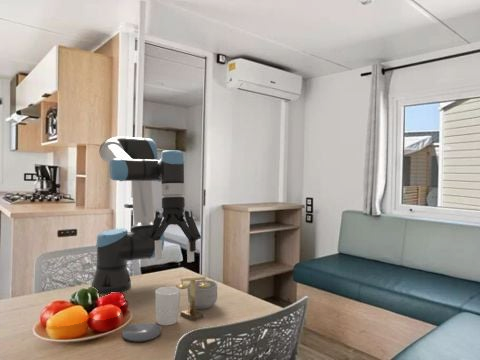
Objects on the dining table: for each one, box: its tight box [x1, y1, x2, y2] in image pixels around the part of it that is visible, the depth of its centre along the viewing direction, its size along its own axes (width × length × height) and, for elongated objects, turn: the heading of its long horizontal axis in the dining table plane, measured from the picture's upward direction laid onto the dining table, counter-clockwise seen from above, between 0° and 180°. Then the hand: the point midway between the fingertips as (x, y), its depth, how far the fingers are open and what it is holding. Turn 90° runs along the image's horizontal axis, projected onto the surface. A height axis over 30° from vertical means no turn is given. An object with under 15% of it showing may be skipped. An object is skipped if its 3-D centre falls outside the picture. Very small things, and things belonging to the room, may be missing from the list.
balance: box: [175, 275, 210, 322], centre depth 120 cm, size 15×4×14 cm, turn 50°
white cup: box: [154, 286, 181, 326], centre depth 116 cm, size 8×8×10 cm
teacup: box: [186, 278, 218, 310], centre depth 131 cm, size 14×11×8 cm
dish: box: [121, 322, 162, 343], centre depth 107 cm, size 11×11×1 cm
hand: (174, 260), depth 120 cm, fingers open, 13 cm apart
